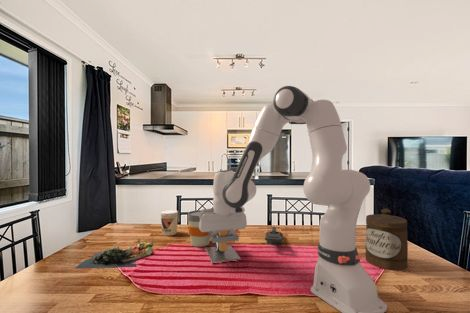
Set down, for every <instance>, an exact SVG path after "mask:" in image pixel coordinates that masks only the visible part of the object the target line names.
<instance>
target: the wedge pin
mask: <svg viewBox="0 0 470 313" xmlns="http://www.w3.org/2000/svg"><path fill="white" fill-rule="evenodd" d="M227 231H228V230H222V231H219V236H226V235H227ZM227 245H228V242H219V250H220V251H227Z"/></svg>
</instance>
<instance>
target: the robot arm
mask: <svg viewBox="0 0 470 313" xmlns="http://www.w3.org/2000/svg"><path fill="white" fill-rule="evenodd" d="M273 96H274V97H273V100H272V103H270V102H269V103H266V104H265V105H263V107H262V108H261V110H260V111H259V113H258V115H257V117H256V120H255V122H254V124H253V126H252V129H251V131H250V135H249V138H248V141H247V144H246V146H245V149H244V152H243V153H242V155H241V158H240V160H239V163H238V165H237V167H236V169H235V171H233V170H232V169H225V170H220V171H217V172H215V174H214V177H213V186H212V191H213V198H212V208H203V209H202V210H201V211H203V212H201V211H200V212H199V219H200V223H199V229H200V231H201V232H209V231H214V234H215V235H216V236H218V235H217V234H216V233H218V231H222V230H229V234H228V235H232V233H233V230H234V231H235V230H245V229H246V228H247V225H248V223H247V216H246V214H245V210H246V209H245V208H244V206H245V204H247V203H248V202H249V201H251V200H252V199H253V198H254V197H255V196H256V194H257V187H256V184H255V182H254V181H253V180H252V177H253V175H254V172H255V170H256V168H257V166H258V164H259V163H260V161H261V160H262V159H263V158H264V157H265V156H267V155H268V154H270V153H271V152H272V151H273V149H274V148H275V147H276V145H277V143H278V140H279V138H280V136H281V133H282V131H283V129H284V126H285V125H286V124H287V123H289V125H306V127H307V132H308V136H309V143H310V148H311V153H312V154H311V155H312V157H311V158H312V162H311V168H310V172H309V174H308V175H307V177H306V178H305V179H304V182H303V193H304V197H305V198H306V200H308V201H309V203H311V204H313V205H318V206H323V207H324V206H326V207H327V209H326V211H325V213H324V214H323V215H322V217H321V218H320V220H319V233H318V234H319V237H318V238H319V241H318V243H317V255H318V259H317V261H316V264H315V266H314V267H315V268H314V275H313V285H311V287H310V292H311V293H312V294H313V295H315V296H317V297H318V298H319V299H321V300H323V301H324V302H325V303H327V304H328V305H330V306H331V307H332V308H334V309H336V310H337V311H339V312H340V313H385V312H387V310H388V304H386V303H385V301H384V300H382V299H381V298H380V297H379V296H378V288H377V285H376V283H375V282H374V279H373V277H372V276H371V275H369V274H368V272H367V271H366V270H365V268H364V267H363V265H362V264H361V262H360V260H361V259H363V258H362V257H363V255H362V254H359V252H358V249H357V246H356V235H357V223H358V218H359V214H360V211H361V209H362V208H361V207H362V204H363V202H364V200H365V199H366V197H367V196H368V195H369V193H370V190H371V182H370V179H369V178H368V176H367V175H366V174H364V173H363V172H360V171H358V170H353V169H343V166H342V164H343V162H342V161H343V157H344V155H345V154H346V153H347V150H348V146H347V143H346V137H345V134H344V129H343V126H342V125H343V124H342V123H341V122H342V121H341V118H340V115H339V113H338V111H337V108H336V106H335V105H334V103H333V102H332V101H331V100H328V99H317V100H315V101H314V100H313V99H312V98H311V97H310V96H309V95H308V94H307V93H305V92H304V91H302V90H301V89H300V88H297V87H296V86H293V85H285V86H281V88H279V89H278V90H277V91H276V92H275V94H274V95H273Z"/></svg>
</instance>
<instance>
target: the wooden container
mask: <svg viewBox="0 0 470 313" xmlns="http://www.w3.org/2000/svg"><path fill="white" fill-rule="evenodd" d="M380 212H381V214H380V213H379V214H377V213H374V214H367V215H366V216H365V224H366V226H365V227H366V229H365V260H366V261H367V263H369V264H371V265H372V264H373V266H375V267H377V266H378V268H380V267H381V269H384V268H385V270H393V271H402V270H405V269H407V268H408V260H409V259H408V256H409V254H408V253H409V252H408V251H409V249H408V247H409V246H408V220H407V219H405V218H403V217H400V216H396V215H391V212H392V210H390V209H389V208H387V207H386V208H381V210H380Z"/></svg>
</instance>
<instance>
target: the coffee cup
mask: <svg viewBox="0 0 470 313" xmlns="http://www.w3.org/2000/svg"><path fill="white" fill-rule="evenodd" d="M160 218H161V219H160V220H161V222H160V223H161V234H162V236H168V237H169V236H174V235H176V234H177V231H178V219H179V211H178V210H176V209H166V210H163V211H161V212H160Z"/></svg>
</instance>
